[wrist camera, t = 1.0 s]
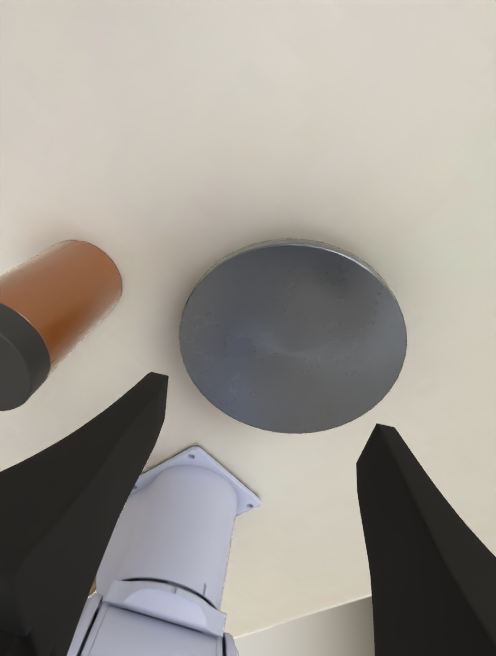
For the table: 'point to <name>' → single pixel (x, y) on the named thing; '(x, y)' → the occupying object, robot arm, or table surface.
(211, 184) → the table surface
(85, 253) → the spice jar
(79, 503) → the robot arm
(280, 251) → the steel stand
